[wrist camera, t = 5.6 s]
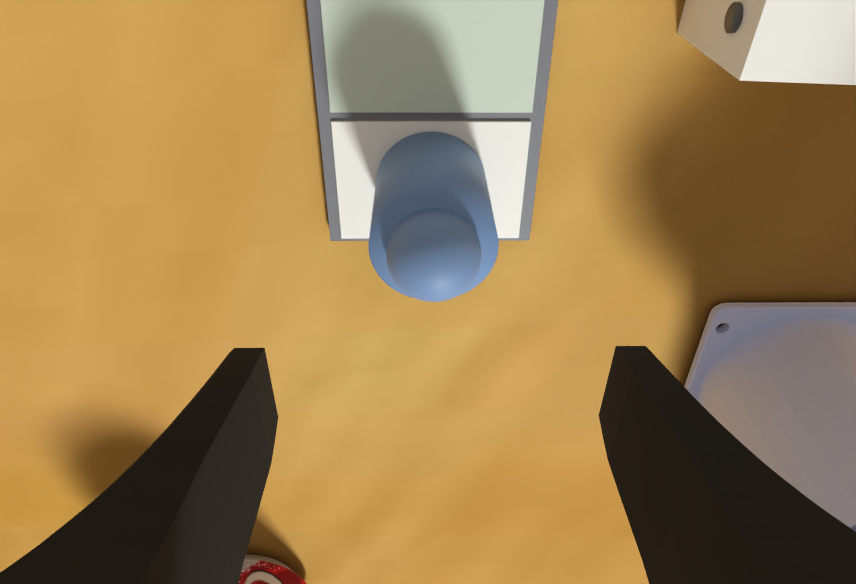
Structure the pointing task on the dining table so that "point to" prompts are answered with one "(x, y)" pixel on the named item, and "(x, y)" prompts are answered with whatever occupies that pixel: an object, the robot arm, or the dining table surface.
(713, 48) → the die
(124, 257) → the dining table surface
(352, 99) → the board
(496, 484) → the dining table surface
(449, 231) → the pawn
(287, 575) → the soda can
